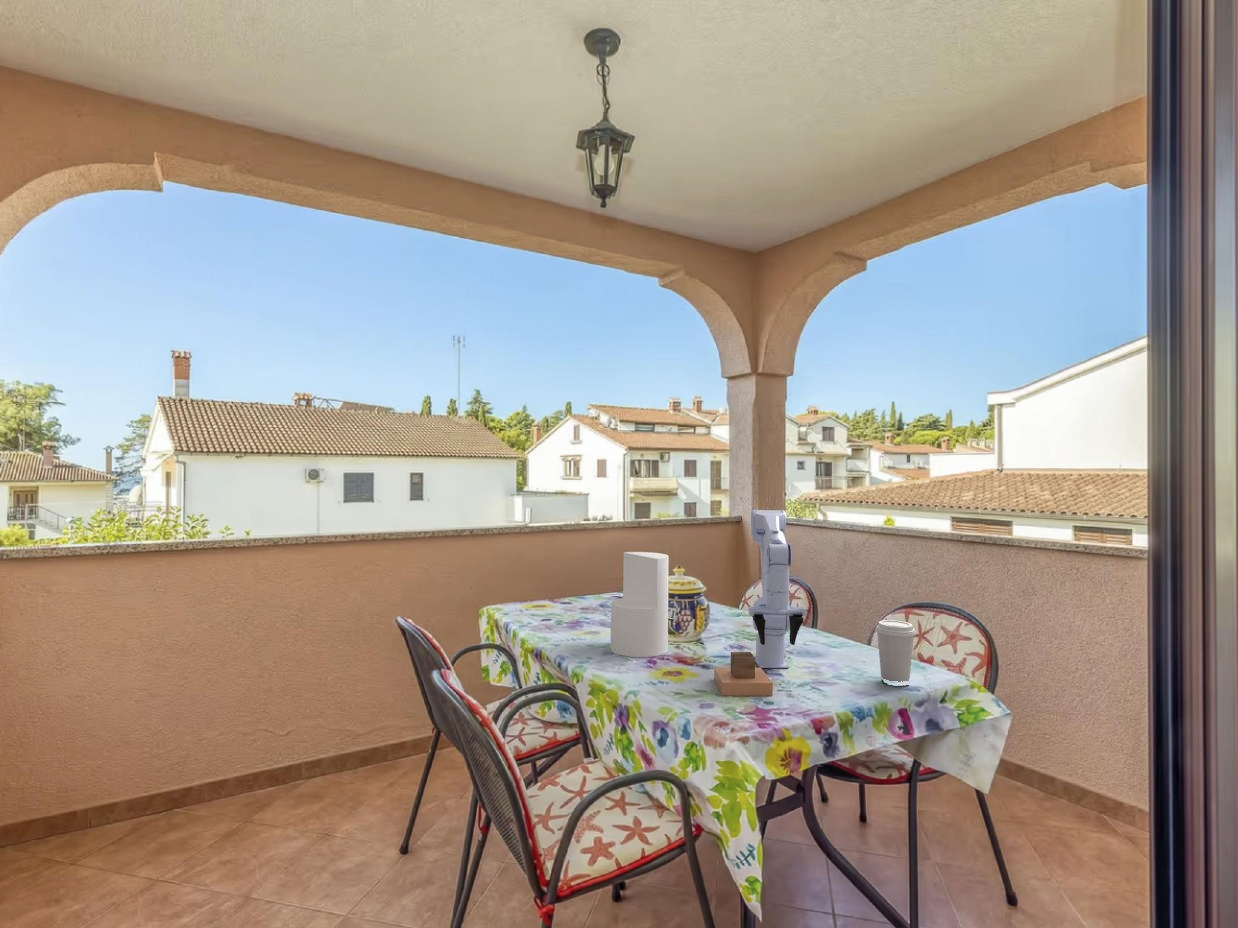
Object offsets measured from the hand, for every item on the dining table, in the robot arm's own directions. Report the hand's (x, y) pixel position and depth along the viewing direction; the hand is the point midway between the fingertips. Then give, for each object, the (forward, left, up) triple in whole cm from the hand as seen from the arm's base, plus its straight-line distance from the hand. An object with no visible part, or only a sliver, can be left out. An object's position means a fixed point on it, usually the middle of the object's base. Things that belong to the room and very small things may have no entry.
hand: (777, 643), depth 164 cm
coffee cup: (+1, +30, -10) cm, 32 cm away
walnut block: (+5, -10, -6) cm, 13 cm away
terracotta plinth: (+5, -10, -9) cm, 15 cm away
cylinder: (-29, -34, -10) cm, 46 cm away
